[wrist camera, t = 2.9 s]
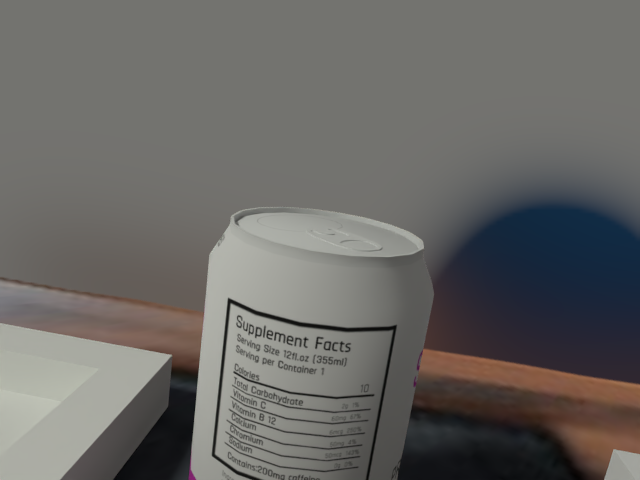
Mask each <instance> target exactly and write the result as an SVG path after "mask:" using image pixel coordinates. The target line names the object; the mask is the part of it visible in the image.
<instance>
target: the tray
mask: <svg viewBox="0 0 640 480" xmlns="http://www.w3.org/2000/svg"><path fill="white" fill-rule="evenodd" d="M171 364H172V355H168V354H163V353H157V352H152V351H147V350H141V349H136V348H131V347H125V346H120V345H114V344H109V343H104V342H98V341H93V340H88V339H82V338H77V337H71V336H66V335H61V334H55V333H50V332H45V331H39V330H34V329H28V328H23V327H18V326H12V325H7V324H2V323H0V480H113V479H114V478H115V476H116V475H117V474H118V472H119V471H120V470H121V468H122V467H123V466H124V464H125V463H126V462H127V460H128V459H129V458H130V456H131V455H132V454H133V452H134V451H135V450H136V449H137V447H138V446H139V445H140V443H141V442H142V441H143V439H144V438H145V437H146V435H147V434H148V433H149V431H150V430H151V429H152V427H153V426H154V425H155V423H156V422H157V421H158V419H159V418H160V417H161V415H162V414H163V413H164V411H165V410H166V409H167V407H168V402H169V390H170V377H171Z"/></svg>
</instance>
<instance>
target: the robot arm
mask: <svg viewBox="0 0 640 480" xmlns="http://www.w3.org/2000/svg"><path fill="white" fill-rule="evenodd" d="M604 480H640V454H635V453H630V452H625V451H620V450H615V449H614V450H613V453H612V457H611V460H610V463H609V466H608V469H607V472H606V476H605V479H604Z"/></svg>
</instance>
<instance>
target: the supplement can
mask: <svg viewBox="0 0 640 480" xmlns="http://www.w3.org/2000/svg"><path fill="white" fill-rule="evenodd" d="M423 251H424V245H423V241H422V240H421V239H420V238H418V237H416V236H415V235H413V234H412V233H411V232H408V231H406V230H403V229H401V228H398V227H396V226H393V225H390V224H387V223H383V222H379V221H376V220H372V219H369V218H364V217H359V216H354V215H349V214H344V213H339V212H331V211H324V210H316V209H307V208H292V207H291V208H290V207H259V208H253V209H247V210H241V211H239V212H237V213H236V214H233V215H232V216H231V221H230V225H229V227H228V228H227V230H226V231H225V233H224V234H223V236H222V237H221V239H220V240H219V242H218V243H217V244H216V246H215V247H214V249H213V250H212V252H211V253H210V256H209V267H208V278H207V289H206V300H205V310H204V321H203V331H202V342H201V353H200V364H199V374H198V385H197V396H196V407H195V417H194V428H193V439H192V450H191V460H190V471H189V480H397V477H398V472H399V467H400V462H401V457H402V452H403V447H404V442H405V437H406V432H407V427H408V422H409V417H410V412H411V407H412V402H413V397H414V392H415V387H416V382H417V377H418V372H419V367H420V362H421V357H422V352H423V347H424V342H425V337H426V331H427V327H428V322H429V317H430V312H431V306H432V301H433V297H434V292H433V286H432V282H431V278H430V275H429V273H428V269H427V266H426V263H425V260H424V257H423Z"/></svg>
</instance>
